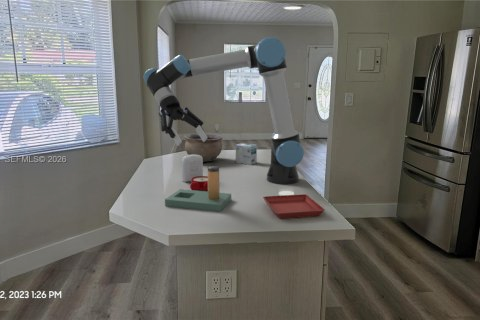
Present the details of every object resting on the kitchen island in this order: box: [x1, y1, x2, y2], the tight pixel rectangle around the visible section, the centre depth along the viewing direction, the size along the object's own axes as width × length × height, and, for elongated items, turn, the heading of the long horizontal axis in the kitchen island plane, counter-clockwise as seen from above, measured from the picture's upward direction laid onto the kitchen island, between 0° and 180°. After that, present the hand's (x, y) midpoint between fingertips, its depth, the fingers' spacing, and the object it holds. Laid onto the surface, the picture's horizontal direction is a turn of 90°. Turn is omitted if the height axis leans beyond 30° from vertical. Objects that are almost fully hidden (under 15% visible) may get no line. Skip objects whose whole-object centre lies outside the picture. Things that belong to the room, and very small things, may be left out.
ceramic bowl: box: [184, 132, 224, 163], centre depth 217 cm, size 22×22×15 cm
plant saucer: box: [262, 193, 326, 219], centre depth 137 cm, size 18×18×3 cm
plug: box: [207, 165, 220, 200], centre depth 141 cm, size 4×4×12 cm
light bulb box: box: [235, 142, 258, 165], centre depth 213 cm, size 11×7×11 cm, turn 58°
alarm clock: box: [189, 175, 208, 192], centre depth 163 cm, size 10×6×15 cm
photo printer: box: [181, 154, 204, 183], centre depth 175 cm, size 10×4×12 cm, turn 123°
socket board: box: [164, 188, 232, 212], centre depth 144 cm, size 22×14×2 cm, turn 75°
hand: (193, 141), depth 145 cm, fingers open, 13 cm apart
